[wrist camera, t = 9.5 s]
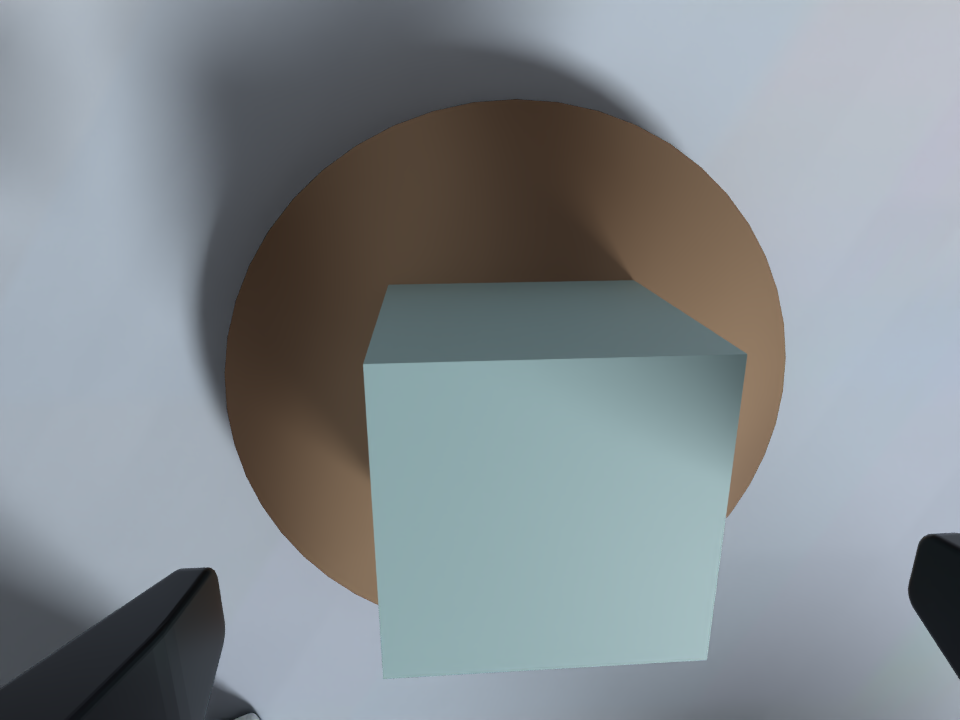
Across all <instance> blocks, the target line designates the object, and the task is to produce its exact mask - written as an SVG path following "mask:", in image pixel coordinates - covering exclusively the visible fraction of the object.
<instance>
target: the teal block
mask: <svg viewBox="0 0 960 720" xmlns="http://www.w3.org/2000/svg"><path fill="white" fill-rule="evenodd" d="M746 362H747V353H745V352H743V351H742V350H740V349H739V348H737V347H736V346H734V345H733V344H731V343H730V342H728V341H727V340H725V339H723V338H722V337H720V336H719V335H717V334H716V333H714V332H713V331H711V330H710V329H708V328H707V327H705V326H704V325H702V324H700V323H699V322H697V321H696V320H694V319H693V318H691V317H690V316H688V315H687V314H685V313H684V312H682V311H681V310H679V309H677V308H676V307H674V306H673V305H671V304H670V303H668V302H667V301H665V300H664V299H662V298H661V297H659V296H657V295H656V294H654V293H653V292H651V291H650V290H648V289H647V288H645V287H644V286H642V285H641V284H639V283H638V282H636V281H634V280H619V281H564V282H509V283H454V284H399V285H388V287H387V291H386V294H385V297H384V300H383V303H382V306H381V309H380V313H379V316H378V319H377V322H376V325H375V328H374V331H373V334H372V338H371V341H370V344H369V347H368V350H367V353H366V356H365V360H364V363H363V371H364V387H365V402H366V418H367V434H368V449H369V465H370V480H371V496H372V512H373V527H374V543H375V558H376V574H377V590H378V605H379V621H380V636H381V652H382V668H383V679H392V678H409V677H426V676H444V675H461V674H478V673H495V672H512V671H529V670H546V669H564V668H581V667H598V666H615V665H632V664H649V663H666V662H684V661H701V660H707V655H708V648H709V640H710V633H711V625H712V618H713V610H714V603H715V595H716V587H717V580H718V572H719V565H720V557H721V550H722V542H723V535H724V527H725V520H726V512H727V505H728V497H729V490H730V482H731V475H732V467H733V459H734V452H735V444H736V437H737V429H738V422H739V414H740V407H741V399H742V392H743V384H744V377H745V369H746Z"/></svg>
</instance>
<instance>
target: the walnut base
mask: <svg viewBox="0 0 960 720" xmlns="http://www.w3.org/2000/svg"><path fill="white" fill-rule="evenodd" d="M619 280H634V281H636V282H638V283H639V284H641V285H642V286H644V287H645V288H647V289H648V290H650V291H651V292H653V293H654V294H656V295H657V296H659V297H661V298H662V299H664V300H665V301H667V302H668V303H670V304H671V305H673V306H674V307H676V308H677V309H679V310H681V311H682V312H684V313H685V314H687V315H688V316H690V317H691V318H693V319H694V320H696V321H697V322H699V323H700V324H702V325H704V326H705V327H707V328H708V329H710V330H711V331H713V332H714V333H716V334H717V335H719V336H720V337H722V338H723V339H725V340H727V341H728V342H730V343H731V344H733V345H734V346H736V347H737V348H739V349H740V350H742V351H743V352H745V353H747V362H746V369H745V377H744V384H743V392H742V399H741V407H740V414H739V422H738V429H737V437H736V444H735V452H734V459H733V467H732V475H731V482H730V490H729V497H728V505H727V512H726V518H727V517H728V515H729V514H730V513H731V512H732V510H733V509H734V507H735V506H736V504H737V503H738V501H739V500H740V498H741V497H742V495H743V494H744V492H745V491H746V489H747V488H748V486H749V485H750V483H751V481H752V479H753V477H754V475H755V473H756V471H757V469H758V467H759V465H760V463H761V461H762V459H763V457H764V455H765V452H766V449H767V447H768V444H769V441H770V438H771V435H772V433H773V430H774V427H775V424H776V420H777V415H778V411H779V406H780V402H781V397H782V392H783V382H784V370H785V358H786V357H785V337H784V322H783V317H782V312H781V307H780V301H779V296H778V291H777V288H776V285H775V282H774V279H773V276H772V273H771V270H770V267H769V264H768V262H767V259H766V256H765V254H764V252H763V250H762V248H761V246H760V244H759V242H758V241H757V239H756V237H755V235H754V233H753V231H752V229H751V227H750V225H749V224H748V222H747V221H746V219H745V218H744V217H743V215H742V214H741V212H740V211H739V210H738V208H737V207H736V205H735V204H734V203H733V201H732V200H731V199H730V197H729V196H728V194H727V193H726V192H725V191H724V190H723V189H722V188H721V187H720V186H719V185H718V184H717V183H716V182H715V181H714V180H713V179H712V178H711V177H710V176H709V175H708V174H707V173H706V172H705V171H704V170H703V169H702V168H701V167H700V166H699V165H697V164H696V163H695V162H693V161H692V160H691V159H689V158H688V157H687V156H685V155H684V154H683V153H682V152H680V151H679V150H678V149H676V148H675V147H674V146H672V145H671V144H669V143H668V142H666V141H664V140H662V139H660V138H659V137H657V136H655V135H653V134H651V133H649V132H648V131H646V130H644V129H642V128H640V127H639V126H637V125H634V124H632V123H629V122H626V121H624V120H621V119H618V118H616V117H613V116H610V115H608V114H605V113H602V112H600V111H596V110H591V109H587V108H582V107H578V106H573V105H568V104H564V103H559V102H548V101H533V100H519V99H514V100H500V101H486V102H473V103H469V104H464V105H459V106H455V107H450V108H446V109H441V110H436V111H432V112H429V113H427V114H424V115H421V116H419V117H416V118H413V119H410V120H408V121H405V122H402V123H400V124H397V125H394V126H392V127H390V128H388V129H386V130H384V131H383V132H381V133H379V134H377V135H375V136H373V137H371V138H370V139H368V140H366V141H364V142H362V143H360V144H358V145H357V146H355V147H354V148H352V149H351V150H350V151H348V152H347V153H345V154H344V155H343V156H341V157H340V158H339V159H337V160H336V161H335V162H333V163H332V164H330V165H329V166H328V167H326V168H325V169H324V170H322V171H321V172H320V173H319V174H318V175H317V176H316V177H315V178H314V179H313V180H312V181H311V182H310V183H309V184H308V185H307V186H306V187H305V188H304V189H303V190H302V191H301V192H300V193H299V194H298V195H297V196H296V197H295V198H294V199H293V200H292V201H291V202H290V204H289V205H288V206H287V208H286V209H285V210H284V212H283V213H282V214H281V216H280V217H279V218H278V219H277V221H276V222H275V223H274V225H273V226H272V227H271V229H270V230H269V231H268V233H267V235H266V237H265V238H264V240H263V242H262V244H261V246H260V247H259V249H258V251H257V253H256V254H255V256H254V258H253V260H252V262H251V263H250V265H249V268H248V270H247V273H246V276H245V278H244V281H243V283H242V286H241V289H240V291H239V294H238V296H237V299H236V302H235V306H234V311H233V315H232V320H231V324H230V328H229V333H228V337H227V350H226V363H225V387H226V402H227V412H228V416H229V421H230V426H231V431H232V435H233V440H234V444H235V447H236V450H237V452H238V455H239V458H240V461H241V463H242V466H243V469H244V472H245V474H246V477H247V478H248V480H249V482H250V484H251V486H252V488H253V490H254V492H255V494H256V495H257V497H258V499H259V501H260V503H261V505H262V506H263V508H264V509H265V511H266V512H267V513H268V515H269V516H270V518H271V519H272V520H273V522H274V523H275V525H276V526H277V527H278V529H279V530H280V531H281V533H282V534H283V535H284V536H285V537H286V538H287V539H288V540H289V541H290V542H291V543H292V544H293V546H294V547H295V548H296V549H297V550H298V551H299V552H300V553H301V554H302V555H303V556H304V557H305V558H306V559H308V560H309V561H310V562H311V563H312V564H314V565H315V566H316V567H317V568H318V569H320V570H321V571H322V572H323V573H324V574H326V575H327V576H328V577H330V578H331V579H333V580H334V581H336V582H337V583H339V584H341V585H342V586H344V587H345V588H347V589H348V590H350V591H351V592H353V593H355V594H356V595H358V596H361V597H363V598H365V599H367V600H369V601H371V602H373V603H375V604H377V605H378V590H377V574H376V558H375V543H374V527H373V512H372V496H371V480H370V465H369V449H368V434H367V418H366V402H365V387H364V371H363V363H364V360H365V356H366V353H367V350H368V347H369V344H370V341H371V338H372V334H373V331H374V328H375V325H376V322H377V319H378V316H379V313H380V309H381V306H382V303H383V300H384V297H385V294H386V291H387V287H388V285H399V284H454V283H509V282H564V281H619Z"/></svg>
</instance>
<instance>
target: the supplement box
mask: <svg viewBox="0 0 960 720" xmlns="http://www.w3.org/2000/svg"><path fill="white" fill-rule="evenodd" d="M234 720H260V719H259V718H258V717H257V716H256V714H254V713H250V714H246V715H244V716H241V717H239V718H237V719H234Z"/></svg>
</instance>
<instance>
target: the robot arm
mask: <svg viewBox="0 0 960 720" xmlns="http://www.w3.org/2000/svg"><path fill="white" fill-rule="evenodd" d="M908 594H909V599H910V602H911V604H912V606H913V608H914V610H915V611H916V613H917V615H918V616H919V618H920V619H921V621H922V622H923V624H924V625H925V627H926V628H927V630H928V631H929V633H930V635H931V636H932V638H933V639H934V641H935V642H936V644H937V645H938V647H939V648H940V650H941V651H942V653H943V655H944V656H945V658H946V659H947V661H948V662H949V664H950V665H951V667H952V668H953V670H954V671H955V673H956V675H957V676H958V678H959V679H960V533H940V534H928V535H926V536H924V537H923V538H922V539H921V540H920V542H919V544H918V548H917V552H916V556H915V560H914V564H913V568H912V573H911V577H910V581H909V586H908ZM224 637H225V621H224V614H223V608H222V602H221V595H220V589H219V582H218V577H217V575H216V573H215V571H214V570H213V569H212V568H208V567H207V568H185V569H179V570H176V571H175V572H173V573H171V574H170V575H169V576H167V577H166V578H164V579H163V580H161V581H160V582H158V583H157V584H155V585H154V586H152V587H151V588H149V589H148V590H146V591H145V592H143V593H142V594H140V595H139V596H137V597H136V598H134V599H133V600H131V601H130V602H128V603H127V604H125V605H124V606H122V607H121V608H119V609H118V610H116V611H115V612H113V613H112V614H111V615H109V616H108V617H106V618H105V619H103V620H102V621H100V622H99V623H97V624H96V625H94V626H93V627H91V628H90V629H88V630H87V631H85V632H84V633H82V634H81V635H79V636H78V637H76V638H75V639H73V640H72V641H70V642H69V643H67V644H66V645H64V646H63V647H61V648H60V649H58V650H57V651H56V652H54V653H53V654H51V655H50V656H48V657H47V658H45V659H44V660H42V661H41V662H39V663H38V664H36V665H35V666H33V667H32V668H30V669H29V670H27V671H26V672H24V673H23V674H21V675H20V676H18V677H17V678H15V679H14V680H12V681H11V682H9V683H8V684H6V685H5V686H3V687H2V688H0V720H204V718H205V714H206V710H207V706H208V702H209V698H210V695H211V691H212V687H213V683H214V679H215V675H216V671H217V667H218V663H219V659H220V655H221V652H222V648H223V643H224Z"/></svg>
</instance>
